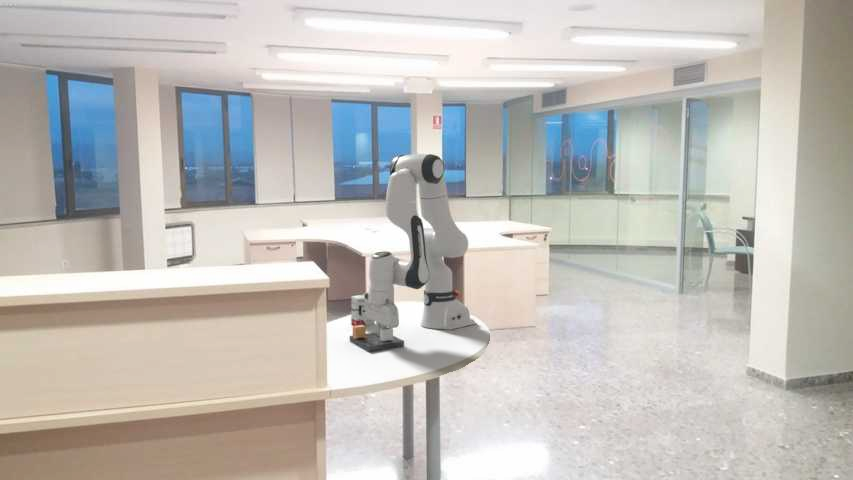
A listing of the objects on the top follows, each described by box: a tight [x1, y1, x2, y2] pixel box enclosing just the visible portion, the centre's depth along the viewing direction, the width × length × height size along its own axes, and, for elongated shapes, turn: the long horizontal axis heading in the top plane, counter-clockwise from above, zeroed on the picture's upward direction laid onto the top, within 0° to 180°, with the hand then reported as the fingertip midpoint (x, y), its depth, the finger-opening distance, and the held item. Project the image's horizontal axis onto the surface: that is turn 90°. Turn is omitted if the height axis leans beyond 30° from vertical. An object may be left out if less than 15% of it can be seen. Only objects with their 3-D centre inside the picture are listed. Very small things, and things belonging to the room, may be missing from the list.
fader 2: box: [380, 327, 394, 341], centre depth 232 cm, size 4×2×4 cm, turn 121°
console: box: [349, 331, 405, 353], centre depth 235 cm, size 14×16×2 cm
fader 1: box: [352, 325, 367, 339], centre depth 235 cm, size 4×2×4 cm, turn 121°
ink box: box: [350, 294, 376, 327], centre depth 262 cm, size 8×5×12 cm, turn 123°
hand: (381, 334), depth 235 cm, fingers closed
